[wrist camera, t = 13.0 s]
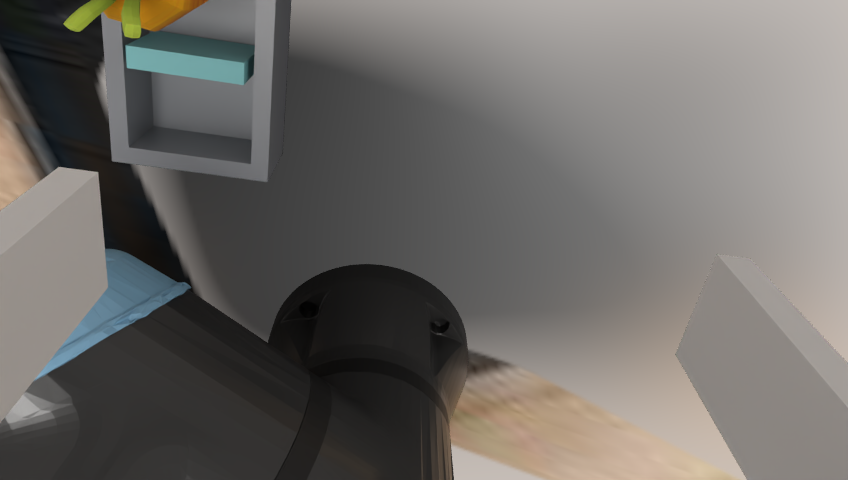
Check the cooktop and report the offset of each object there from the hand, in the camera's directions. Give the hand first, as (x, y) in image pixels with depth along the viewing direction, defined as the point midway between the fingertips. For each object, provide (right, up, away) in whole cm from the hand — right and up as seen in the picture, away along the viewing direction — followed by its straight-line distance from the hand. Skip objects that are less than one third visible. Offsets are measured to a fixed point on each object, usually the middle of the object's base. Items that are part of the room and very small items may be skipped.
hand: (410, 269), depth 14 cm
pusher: (-13, +12, +25) cm, 30 cm away
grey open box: (-12, +14, +25) cm, 31 cm away
